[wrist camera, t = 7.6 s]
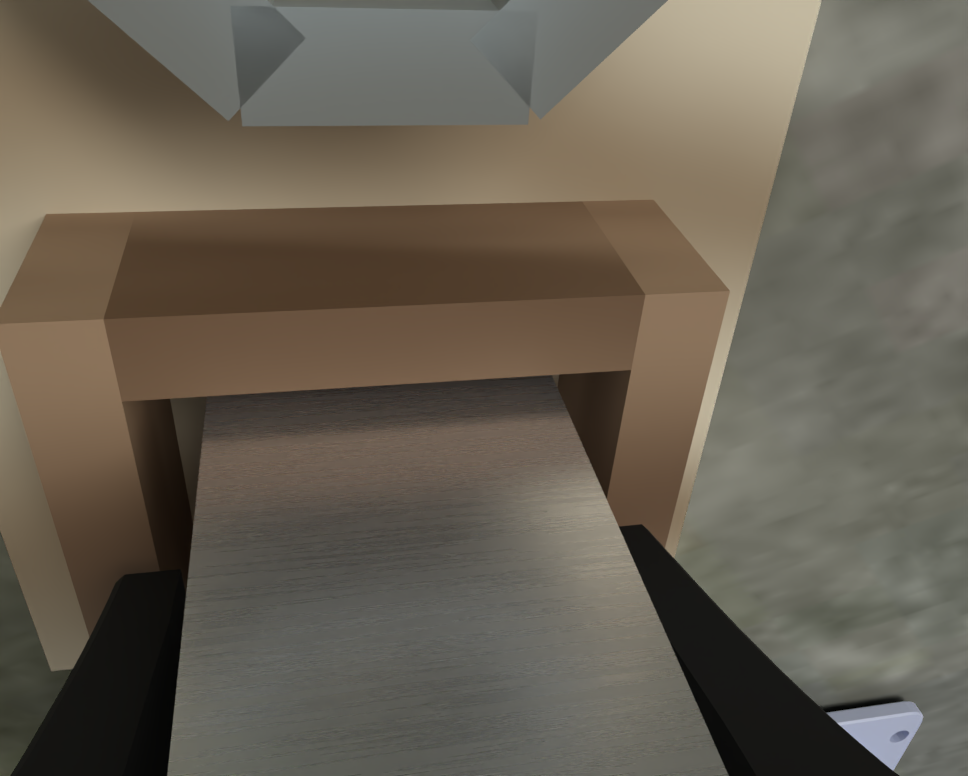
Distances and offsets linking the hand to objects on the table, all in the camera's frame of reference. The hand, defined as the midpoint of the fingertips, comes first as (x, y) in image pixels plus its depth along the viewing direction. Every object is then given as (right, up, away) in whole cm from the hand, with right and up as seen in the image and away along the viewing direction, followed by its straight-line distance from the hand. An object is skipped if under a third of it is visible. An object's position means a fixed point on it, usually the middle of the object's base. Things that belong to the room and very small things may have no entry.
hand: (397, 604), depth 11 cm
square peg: (-1, +2, +2) cm, 3 cm away
